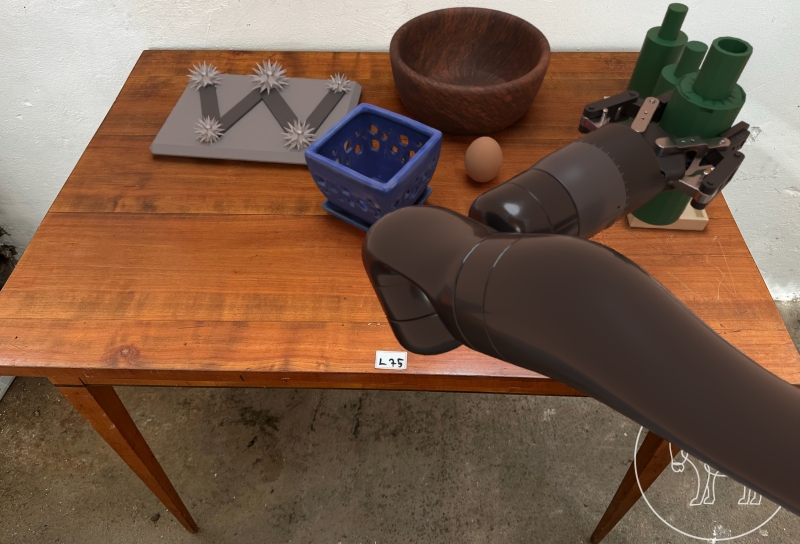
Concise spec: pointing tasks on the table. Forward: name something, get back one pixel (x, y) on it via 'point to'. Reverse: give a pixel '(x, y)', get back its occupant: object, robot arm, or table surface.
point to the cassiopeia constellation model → (253, 115)
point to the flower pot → (373, 164)
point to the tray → (687, 220)
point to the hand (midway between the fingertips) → (710, 114)
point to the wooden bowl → (468, 68)
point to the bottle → (700, 114)
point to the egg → (483, 159)
